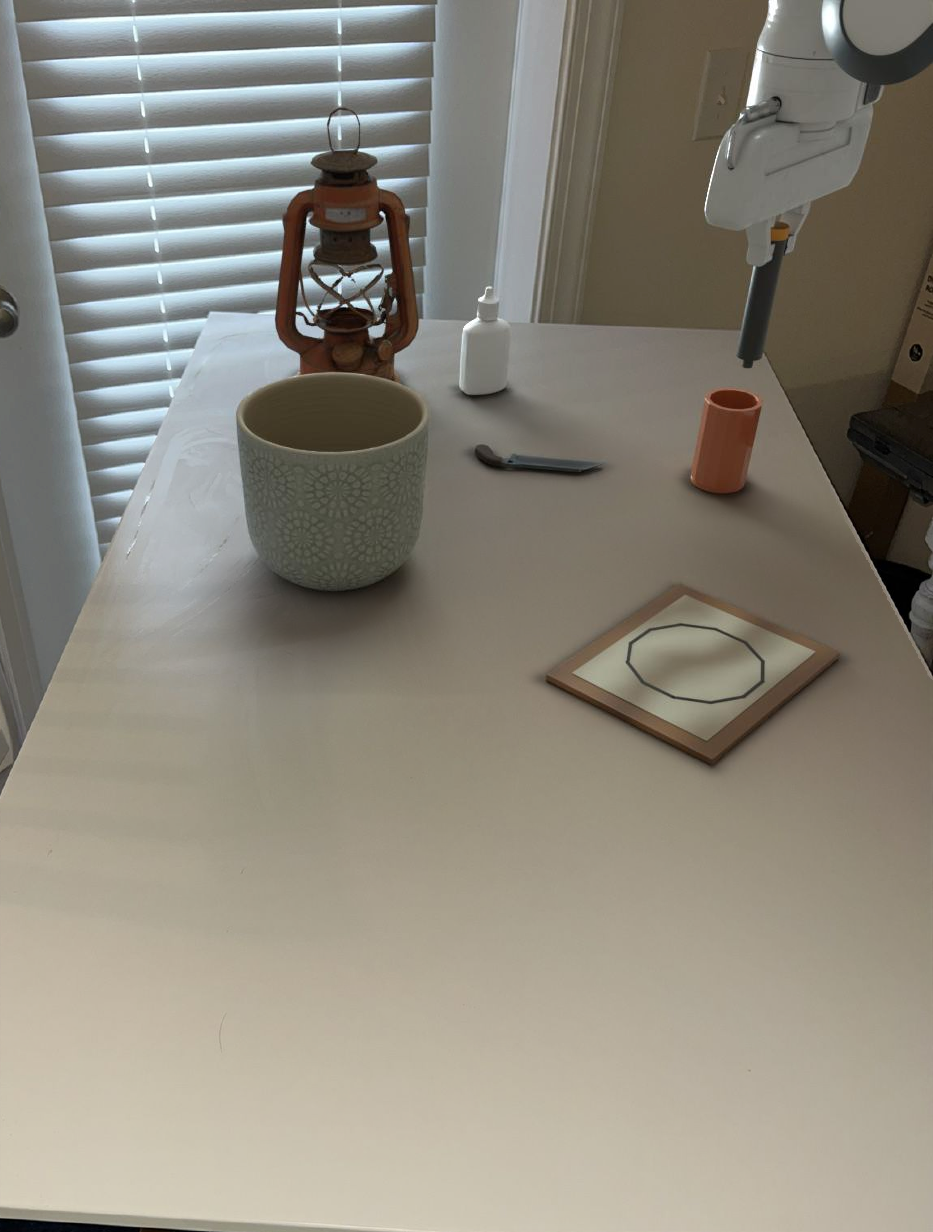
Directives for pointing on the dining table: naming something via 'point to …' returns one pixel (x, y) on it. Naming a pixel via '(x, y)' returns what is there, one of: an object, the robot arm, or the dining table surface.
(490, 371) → the eye dropper bottle
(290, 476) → the planter
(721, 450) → the pen cup
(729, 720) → the sketch board
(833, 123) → the robot arm
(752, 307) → the marker
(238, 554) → the dining table surface
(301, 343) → the lantern
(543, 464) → the knife
